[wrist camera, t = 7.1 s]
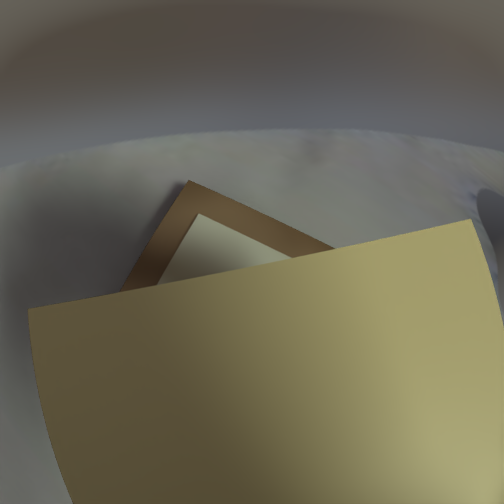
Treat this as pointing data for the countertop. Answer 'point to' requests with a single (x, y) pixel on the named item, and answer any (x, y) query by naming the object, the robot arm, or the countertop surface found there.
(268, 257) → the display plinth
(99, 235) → the countertop surface
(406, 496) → the tea tin
